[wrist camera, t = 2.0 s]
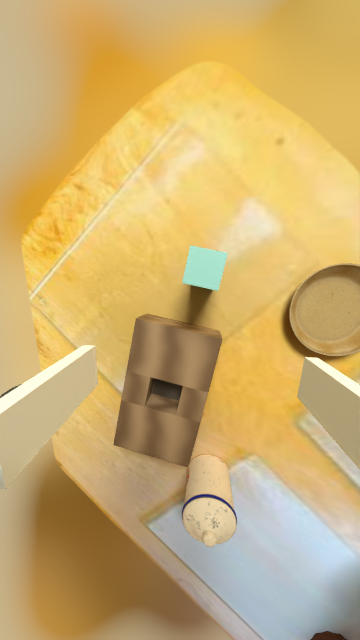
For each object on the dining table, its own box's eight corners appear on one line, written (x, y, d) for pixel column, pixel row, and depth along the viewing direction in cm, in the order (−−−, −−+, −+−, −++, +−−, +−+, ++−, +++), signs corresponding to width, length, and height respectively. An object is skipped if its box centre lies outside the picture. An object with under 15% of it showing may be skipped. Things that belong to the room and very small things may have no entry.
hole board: (219, 331, 36) (222, 339, 30) (190, 441, 40) (188, 467, 34) (146, 313, 37) (136, 318, 31) (126, 422, 41) (113, 444, 35)
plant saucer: (274, 280, 33) (280, 280, 31) (369, 252, 31) (384, 249, 28) (293, 359, 35) (300, 365, 33) (384, 339, 33) (399, 343, 30)
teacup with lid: (179, 459, 41) (170, 524, 30) (219, 447, 39) (225, 511, 28) (202, 505, 42) (201, 585, 31) (242, 495, 41) (257, 576, 29)
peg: (218, 267, 34) (227, 253, 20) (212, 289, 35) (218, 290, 21) (195, 262, 34) (190, 245, 21) (190, 285, 35) (182, 282, 21)
